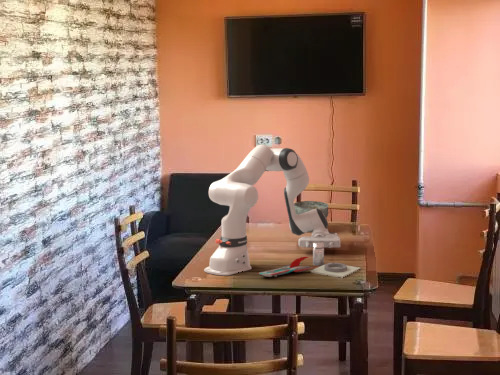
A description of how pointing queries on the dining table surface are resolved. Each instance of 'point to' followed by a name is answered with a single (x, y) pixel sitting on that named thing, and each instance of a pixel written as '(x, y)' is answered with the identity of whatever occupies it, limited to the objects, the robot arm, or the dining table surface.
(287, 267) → the toy spaceship
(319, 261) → the piston
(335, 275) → the ring plate
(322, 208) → the bowl
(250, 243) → the dining table surface
